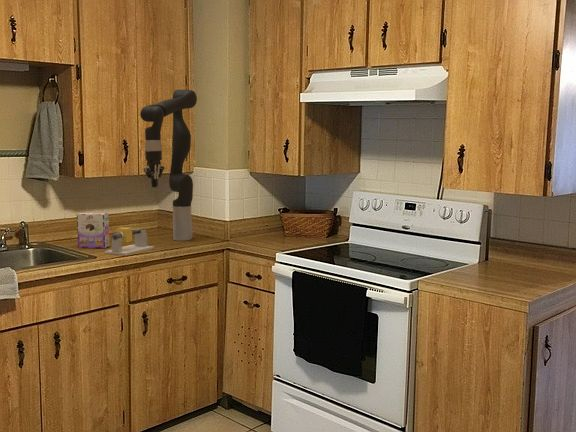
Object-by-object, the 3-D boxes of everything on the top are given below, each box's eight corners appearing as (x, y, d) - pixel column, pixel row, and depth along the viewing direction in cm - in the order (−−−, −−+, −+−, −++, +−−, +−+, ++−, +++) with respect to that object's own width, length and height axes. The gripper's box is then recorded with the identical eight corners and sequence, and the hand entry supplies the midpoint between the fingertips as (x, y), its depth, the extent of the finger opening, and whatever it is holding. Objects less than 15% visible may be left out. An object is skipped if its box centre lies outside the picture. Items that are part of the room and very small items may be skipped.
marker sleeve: (123, 240, 319) (123, 227, 319) (132, 240, 317) (131, 228, 316) (117, 241, 316) (117, 228, 315) (126, 242, 313) (126, 229, 313)
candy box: (110, 246, 330) (109, 212, 328) (104, 248, 324) (103, 214, 322) (83, 245, 333) (82, 211, 331) (77, 247, 327) (76, 213, 325)
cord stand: (133, 246, 332) (133, 226, 330) (153, 248, 326) (153, 228, 325) (105, 253, 314) (104, 232, 313) (125, 255, 308) (125, 234, 307)
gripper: (156, 149, 328) (157, 185, 330) (137, 150, 316) (139, 188, 319) (168, 149, 324) (169, 186, 327) (150, 150, 313) (152, 188, 315)
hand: (154, 187), depth 323 cm, fingers closed
